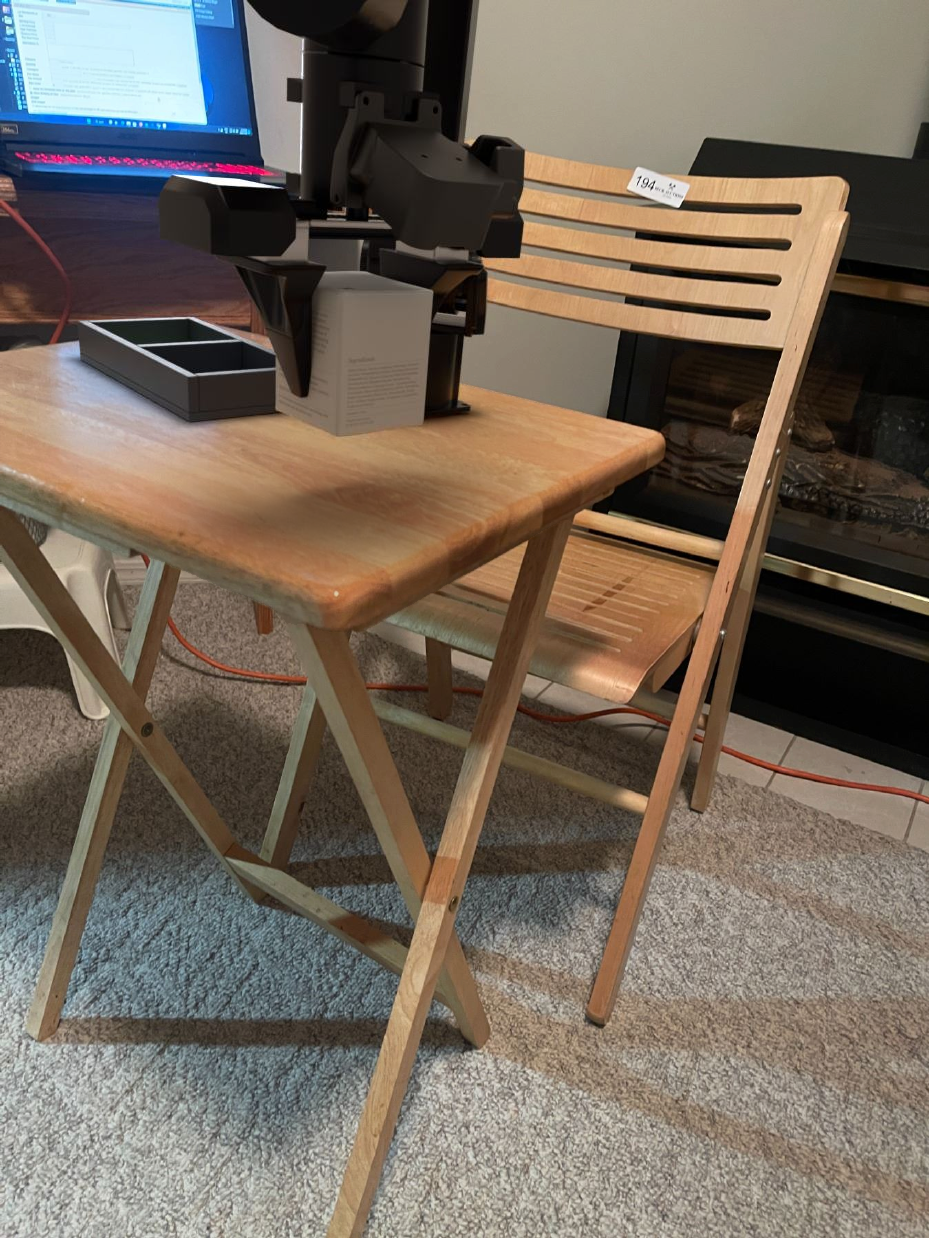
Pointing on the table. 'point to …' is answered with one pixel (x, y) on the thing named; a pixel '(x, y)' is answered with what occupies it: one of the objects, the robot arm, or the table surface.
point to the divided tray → (184, 365)
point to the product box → (364, 356)
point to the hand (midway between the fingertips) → (349, 391)
